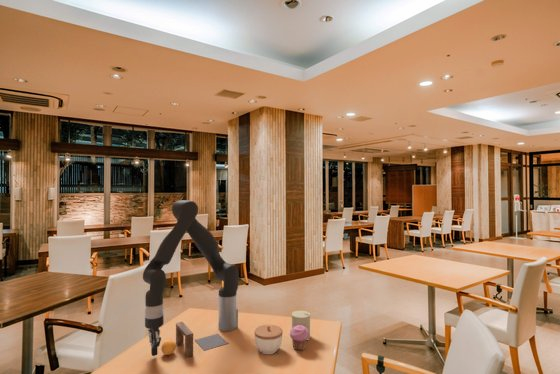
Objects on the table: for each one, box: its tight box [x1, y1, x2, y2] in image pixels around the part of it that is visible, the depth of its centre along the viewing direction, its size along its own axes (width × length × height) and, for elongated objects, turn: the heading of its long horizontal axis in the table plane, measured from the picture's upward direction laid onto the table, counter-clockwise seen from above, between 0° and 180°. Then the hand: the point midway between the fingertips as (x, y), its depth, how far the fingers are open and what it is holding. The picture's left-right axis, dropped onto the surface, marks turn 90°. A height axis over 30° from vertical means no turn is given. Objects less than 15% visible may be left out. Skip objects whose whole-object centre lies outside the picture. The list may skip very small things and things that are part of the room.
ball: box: [160, 339, 177, 356], centre depth 142 cm, size 6×6×6 cm
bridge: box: [175, 321, 194, 359], centre depth 146 cm, size 3×15×10 cm, turn 35°
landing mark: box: [194, 333, 229, 351], centre depth 154 cm, size 12×12×1 cm
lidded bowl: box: [254, 324, 284, 355], centre depth 146 cm, size 13×13×11 cm
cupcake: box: [289, 325, 309, 351], centre depth 148 cm, size 9×9×10 cm
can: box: [291, 310, 311, 340], centre depth 159 cm, size 9×9×12 cm
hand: (154, 354), depth 139 cm, fingers closed
